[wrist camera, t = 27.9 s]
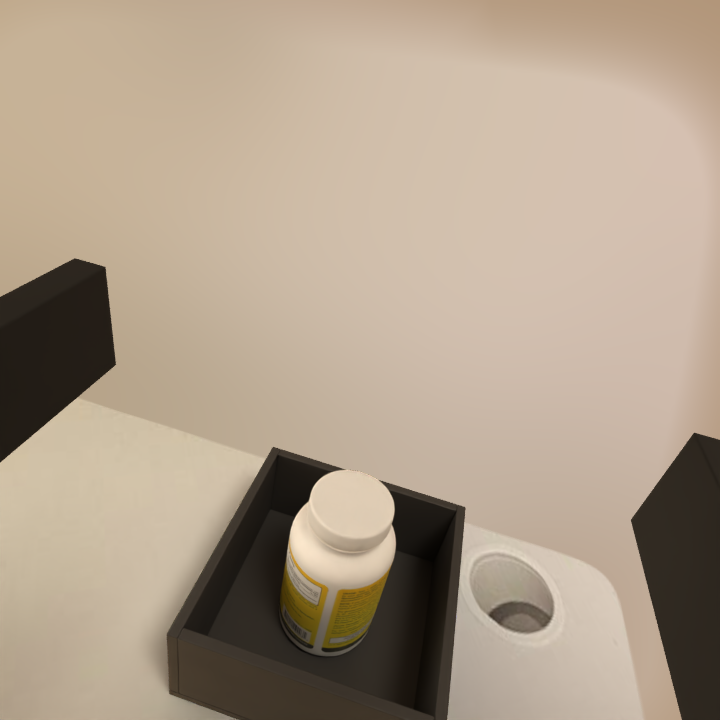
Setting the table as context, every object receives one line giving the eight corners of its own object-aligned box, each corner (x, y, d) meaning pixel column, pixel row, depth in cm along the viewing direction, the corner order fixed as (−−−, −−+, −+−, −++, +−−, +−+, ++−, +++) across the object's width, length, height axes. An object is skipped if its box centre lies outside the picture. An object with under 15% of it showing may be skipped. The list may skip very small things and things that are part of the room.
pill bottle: (375, 580, 37) (413, 473, 31) (363, 671, 32) (406, 564, 26) (290, 559, 37) (310, 448, 31) (265, 646, 32) (283, 534, 26)
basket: (440, 562, 40) (465, 506, 36) (412, 784, 28) (446, 734, 24) (265, 505, 41) (272, 446, 37) (168, 694, 29) (166, 634, 26)
